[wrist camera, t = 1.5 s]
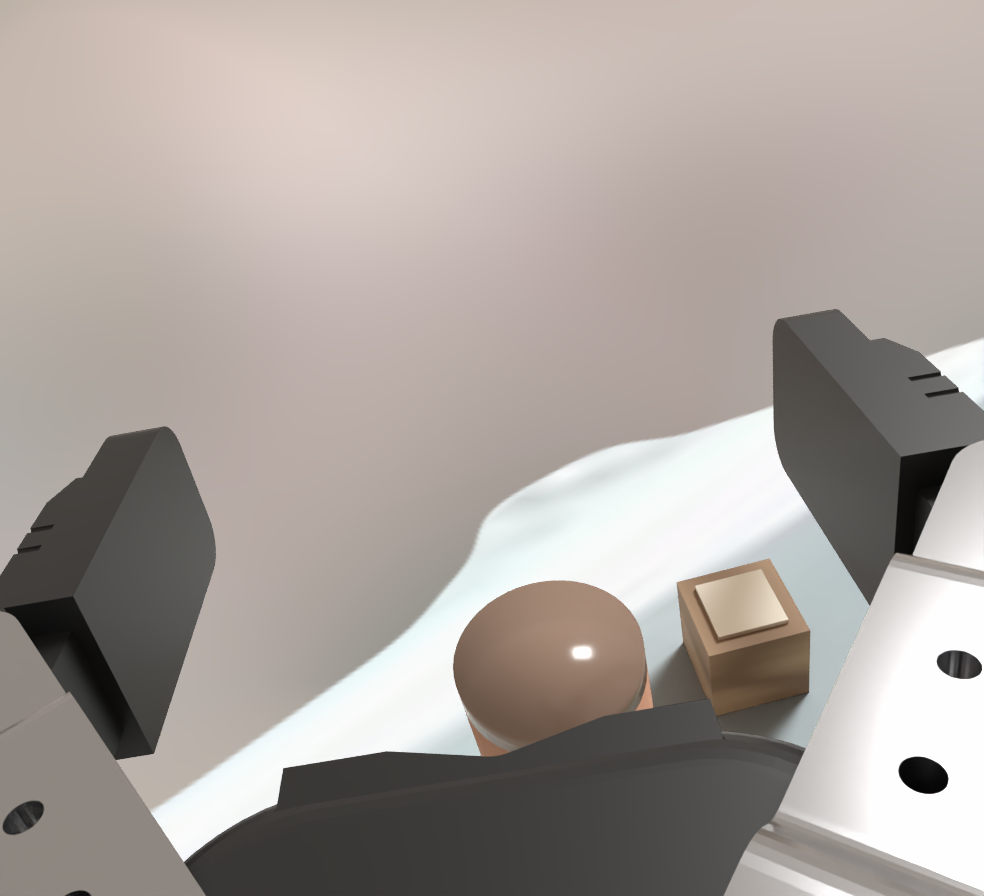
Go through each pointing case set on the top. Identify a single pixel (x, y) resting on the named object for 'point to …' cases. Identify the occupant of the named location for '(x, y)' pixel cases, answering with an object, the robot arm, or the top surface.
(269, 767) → the top surface
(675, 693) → the top surface
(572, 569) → the top surface
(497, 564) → the top surface
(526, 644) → the canister
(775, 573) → the letter block
